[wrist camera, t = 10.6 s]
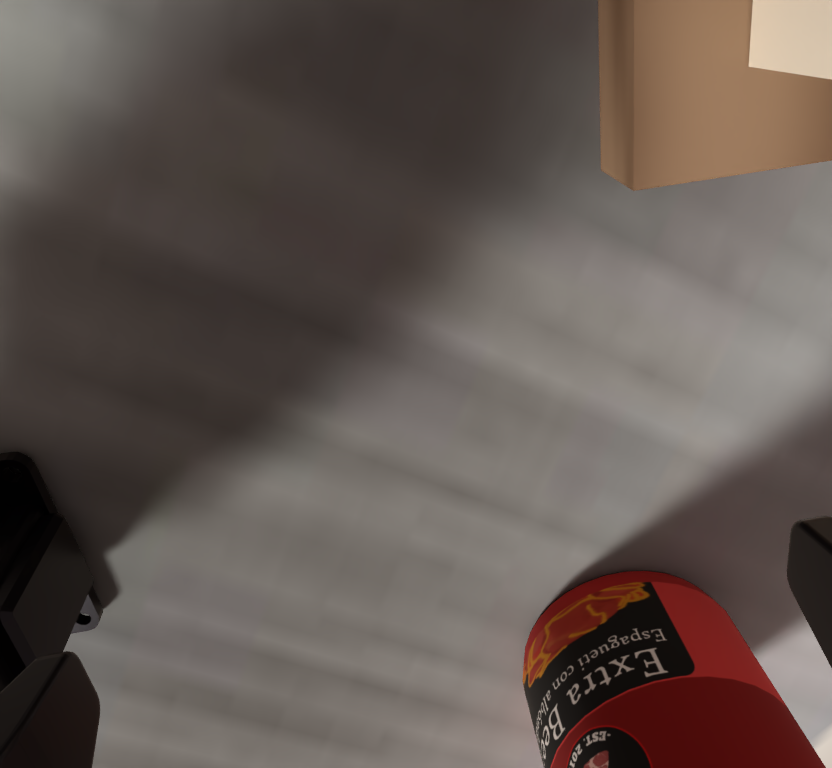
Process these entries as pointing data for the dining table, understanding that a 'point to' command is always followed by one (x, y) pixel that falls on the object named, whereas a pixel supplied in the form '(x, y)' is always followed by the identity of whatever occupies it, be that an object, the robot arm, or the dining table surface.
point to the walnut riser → (699, 96)
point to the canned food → (652, 682)
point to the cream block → (792, 37)
